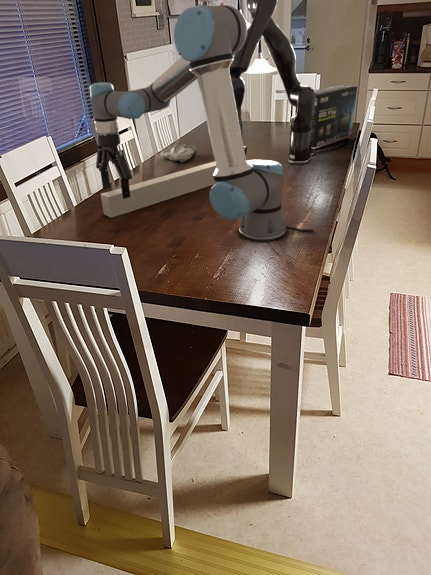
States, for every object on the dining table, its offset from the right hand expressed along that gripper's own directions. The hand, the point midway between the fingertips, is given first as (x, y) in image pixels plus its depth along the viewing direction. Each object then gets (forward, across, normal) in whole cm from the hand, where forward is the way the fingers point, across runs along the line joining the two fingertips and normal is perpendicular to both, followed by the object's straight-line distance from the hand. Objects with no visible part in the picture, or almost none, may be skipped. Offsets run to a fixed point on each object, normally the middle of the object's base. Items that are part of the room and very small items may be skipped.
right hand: (234, 168), depth 201 cm
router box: (+3, +4, -71) cm, 71 cm away
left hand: (-4, 0, +59) cm, 59 cm away
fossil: (+3, +41, -1) cm, 41 cm away
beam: (+3, 0, +29) cm, 30 cm away
